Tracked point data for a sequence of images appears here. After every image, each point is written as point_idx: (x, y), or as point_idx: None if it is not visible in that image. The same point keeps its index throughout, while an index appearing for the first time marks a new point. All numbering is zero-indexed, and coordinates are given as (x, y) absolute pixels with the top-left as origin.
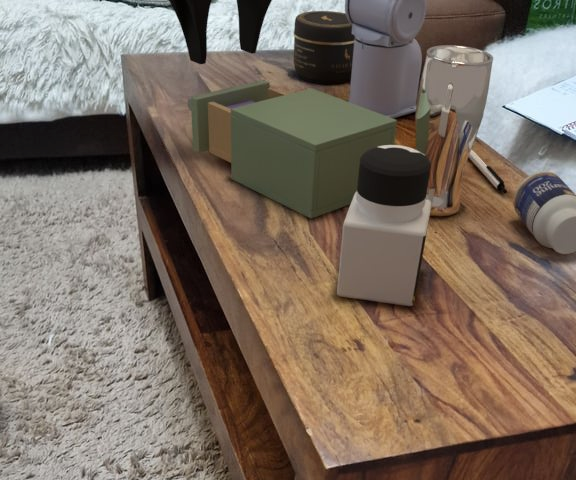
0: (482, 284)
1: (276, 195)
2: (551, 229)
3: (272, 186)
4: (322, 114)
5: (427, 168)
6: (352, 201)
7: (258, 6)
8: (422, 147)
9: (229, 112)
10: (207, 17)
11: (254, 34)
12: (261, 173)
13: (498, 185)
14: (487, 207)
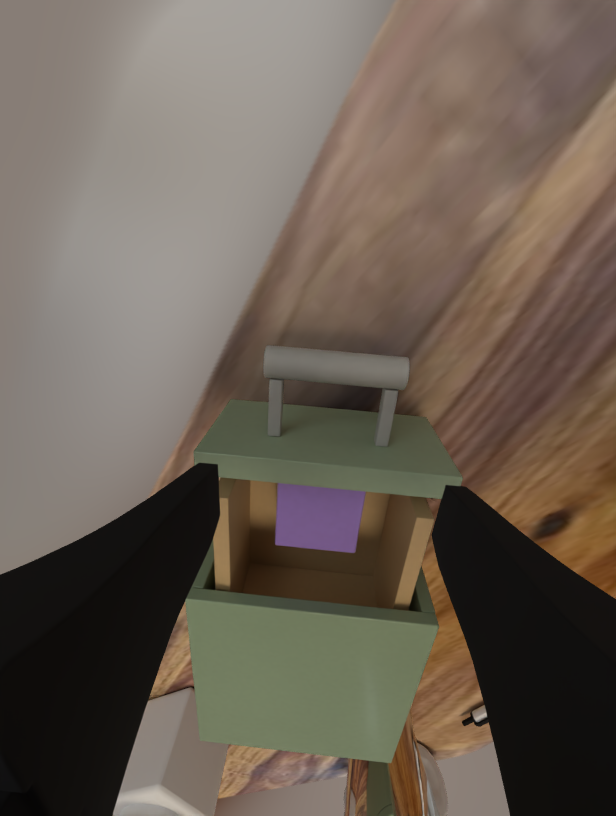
0: (262, 751)
1: None
2: None
3: None
4: (313, 700)
5: None
6: (135, 794)
7: (496, 743)
8: (347, 781)
9: (214, 559)
10: (145, 696)
11: (451, 599)
12: None
13: (472, 719)
14: (419, 713)
